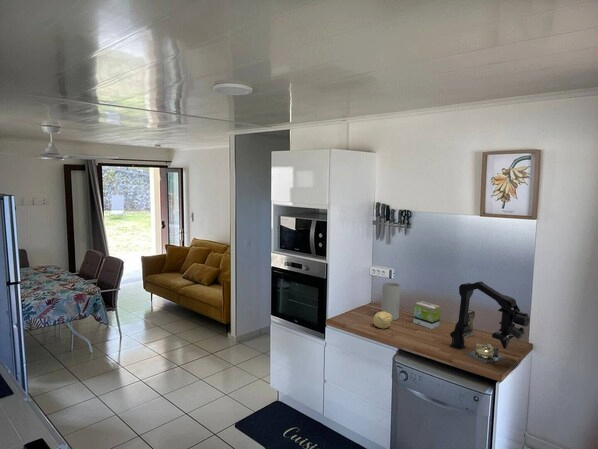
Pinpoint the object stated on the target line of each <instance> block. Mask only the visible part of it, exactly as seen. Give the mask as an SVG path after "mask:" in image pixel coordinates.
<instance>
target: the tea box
mask: <svg viewBox="0 0 598 449" xmlns="http://www.w3.org/2000/svg"><path fill="white" fill-rule="evenodd" d="M440 321H441V305H437V304H435V303H430V302H427V301H424V300H420V301H417V302H415V303H414V306H413V321H412V322H413V324H417V325H418V326H422V327H425V328H428V329H430V330H434V329H435V328H438V327H439V326H440Z"/></svg>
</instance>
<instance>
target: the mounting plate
mask: <svg viewBox="0 0 598 449" xmlns="http://www.w3.org/2000/svg"><path fill="white" fill-rule="evenodd" d="M466 355H467V356H469V357H470V358H473V359H475V360H477V361H479V362H481V363H483V364H484V365H488V364H492V363H496V362H497V363H498V362H500V361H503V360H504V361H505V357H506V356H503V355H501V354H499V353H498V360H493V359H492V358H484V357H480V356H478V355H477V354H476V353H475V350H471V351H467V353H466Z"/></svg>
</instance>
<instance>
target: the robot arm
mask: <svg viewBox="0 0 598 449" xmlns="http://www.w3.org/2000/svg"><path fill="white" fill-rule="evenodd" d="M475 290H478V291H480V292H482V293H483V294H485V295H487V296H488V297H489V298H491V299H493V300H494V301H496V303H497V305H499V306H500V308H499V309H497V311H498V312H500V313H501V320H500V321H499V324H500V328H499V329H498V331H495V332H493V333H492V336H491V338H492V339H495V340H497V341H498V340H499V341H500V344H501V345H502V348H503V349H504V350H506V349H507V347H508V345H509V343H510V342H511V339H512V340H513V339H514V338H516V339H517V340H520V339H522V338H523V336H524V335H526V334H525V328H524V327H528V326H529V324H530V321H531V319H530V316H529V314H528V313H526V312H522V311H521V309H520V308H519V306H518V304H517V301H516V299H515V298H513V297H511V296H509V295H505V294H502V293H500V292H499V291H497V290H495V289H494V288H492V287H491V286H489V285H487V284H485V283H484V282H483V281H480V280H479V281H475V282H473V283H470V282H466V283H462V284H459V287H458V293H459V296H460V304H459V311H460V312H459V311H458V316H459V320H458V319H457V322H456V324H455V326H454V329H453V331H451V332H450V333H449V334H450V335H449V336H450V338H451V343H450V344H449V346H451V347H453V348H455V349H457V350H459V349H464V348H466V346H465V338H464V337H465V336H466V335H467V334H468V333H469V332H470V325H468V323H467V318H468V310H470V300H471V297H472V296H473V294H474V291H475ZM516 325H519V326H522V327H516Z"/></svg>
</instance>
